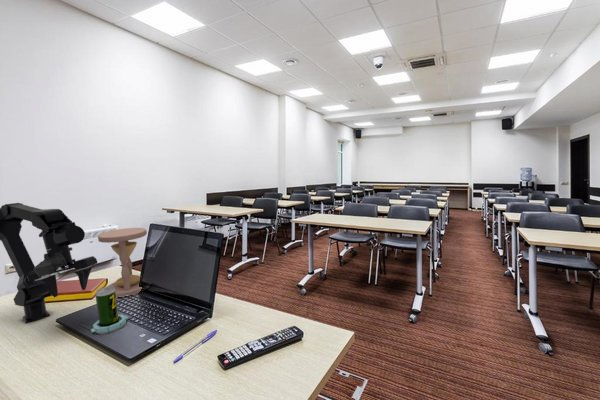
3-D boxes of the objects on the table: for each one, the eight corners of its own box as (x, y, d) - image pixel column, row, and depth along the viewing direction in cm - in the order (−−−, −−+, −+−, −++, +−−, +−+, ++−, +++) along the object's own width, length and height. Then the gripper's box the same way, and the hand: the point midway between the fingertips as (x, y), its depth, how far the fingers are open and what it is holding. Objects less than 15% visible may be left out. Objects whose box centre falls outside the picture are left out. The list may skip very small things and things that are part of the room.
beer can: (97, 330, 94) (92, 294, 92) (102, 322, 99) (97, 287, 97) (117, 326, 96) (112, 291, 94) (120, 318, 101) (116, 284, 99)
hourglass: (114, 284, 134) (107, 229, 131) (156, 279, 138) (150, 226, 135) (97, 301, 117) (89, 239, 114) (146, 294, 121) (139, 234, 118)
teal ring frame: (87, 328, 96) (87, 323, 96) (122, 315, 104) (121, 311, 104) (96, 338, 91) (96, 332, 90) (132, 324, 98) (132, 318, 98)
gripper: (5, 260, 89) (19, 310, 90) (68, 245, 90) (82, 295, 91) (36, 252, 100) (48, 296, 101) (92, 239, 101) (104, 283, 102)
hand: (70, 293), depth 98 cm, fingers open, 9 cm apart
